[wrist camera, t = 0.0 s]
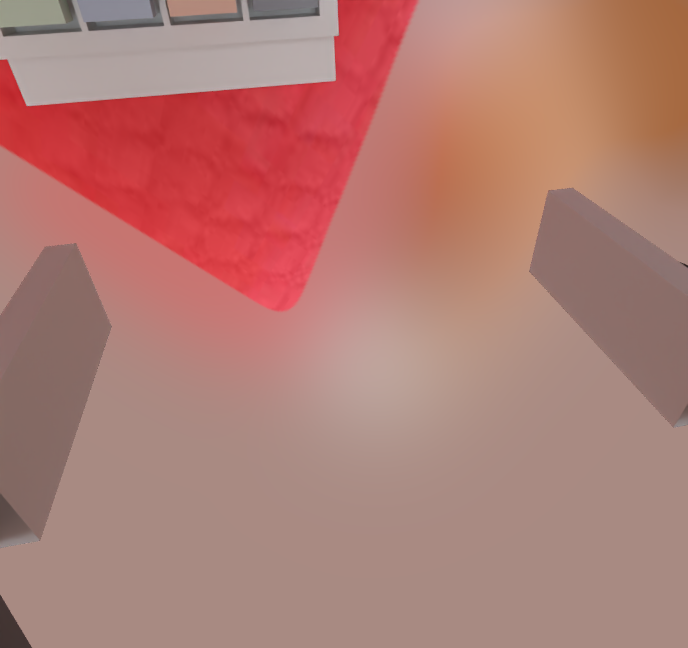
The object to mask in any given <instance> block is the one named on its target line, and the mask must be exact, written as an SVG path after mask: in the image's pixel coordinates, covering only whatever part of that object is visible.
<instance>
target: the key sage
mask: <svg viewBox="0 0 688 648" xmlns="http://www.w3.org/2000/svg"><path fill="white" fill-rule="evenodd" d="M71 21H73V18H72V15H71V12H70V9H69V6H68V3H67V0H0V28H3V27H19V26H34V25H50V24H66V23H68V22H71Z"/></svg>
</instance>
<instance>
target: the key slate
mask: <svg viewBox="0 0 688 648" xmlns="http://www.w3.org/2000/svg"><path fill="white" fill-rule="evenodd" d="M77 3H78V6H79V9H80V12H81V15H82V18H83V21H84V22H97V21H113V20H128V19H144V18H154V17H155V16H156V15H157V14H156V10H155V6H154V1H153V0H77Z"/></svg>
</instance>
